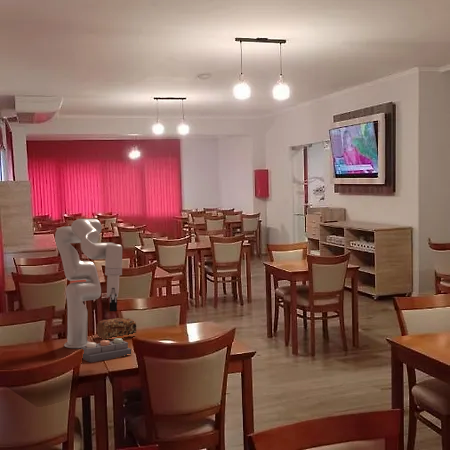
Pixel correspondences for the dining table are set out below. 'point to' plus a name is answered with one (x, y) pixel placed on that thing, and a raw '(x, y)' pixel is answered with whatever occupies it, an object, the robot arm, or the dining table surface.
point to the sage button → (118, 340)
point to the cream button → (91, 345)
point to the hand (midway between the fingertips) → (113, 309)
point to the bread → (115, 327)
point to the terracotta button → (104, 342)
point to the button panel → (105, 351)
